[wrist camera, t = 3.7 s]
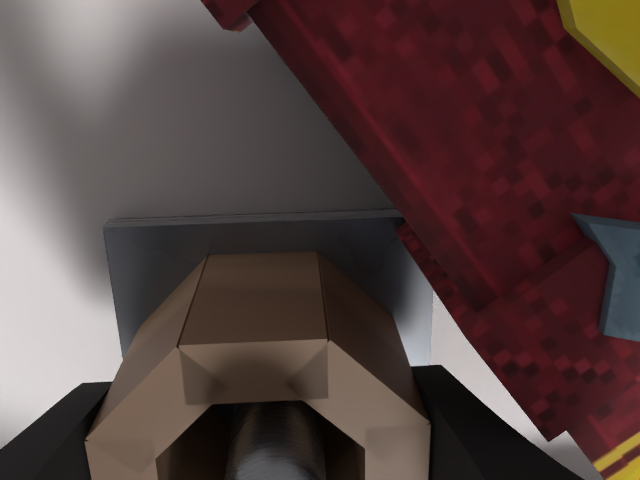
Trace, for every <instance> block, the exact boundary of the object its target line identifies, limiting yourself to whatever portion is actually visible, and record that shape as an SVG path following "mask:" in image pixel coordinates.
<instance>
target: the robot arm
mask: <svg viewBox="0 0 640 480" xmlns="http://www.w3.org/2000/svg"><path fill="white" fill-rule="evenodd" d="M411 369H412V373H413V376H414V379H415V381H416V384H417V387H418V390H419V393H420V396H421V398H422V401H423V404H424V407H425V409H426V412H427V415H428V418H429V421H430V424H431V430H430V451H429V472H428V480H584V479H582V478H581V477H579V476H578V475H576V474H575V473H573V472H572V471H570V470H569V469H567V468H566V467H564V466H563V465H561V464H560V463H558V462H557V461H555V460H554V459H553V458H551V457H550V456H549V455H547V454H546V453H545V452H543V451H542V450H541V449H539V448H538V447H537V446H535V445H534V444H533V443H531V442H530V441H528V440H527V439H526V438H525V437H523V436H522V435H521V434H520V433H518V432H517V431H516V430H515V429H513V428H512V427H511V426H510V425H508V424H507V423H506V422H505V421H504V420H502V419H501V418H500V417H499V416H498V415H496V414H495V413H494V412H493V411H492V410H491V409H489V408H488V407H487V406H486V405H485V404H484V403H483V402H481V401H480V400H479V399H478V398H477V397H476V396H475V395H474V394H473V393H471V392H470V391H469V390H468V389H467V388H466V387H465V386H464V385H463V384H461V383H460V382H459V381H458V380H457V379H456V378H455V377H454V376H453V375H452V374H451V373H450V372H448V371H447V370H446V369H445V368H444V367H443V366H442V365H426V366H411ZM112 383H113V382H95V383H82V384H80V385H79V386H78V387H76V388H75V389H74V390H72V391H71V392H70V393H68V394H67V395H66V396H65V397H64V398H62V399H61V400H60V401H59V402H57V403H56V404H55V405H54V406H53V407H51V408H50V409H49V410H48V411H47V412H45V413H44V414H43V415H42V416H41V417H40V418H38V419H37V420H36V421H35V422H33V423H32V424H31V425H30V426H29V427H27V428H26V429H25V430H24V431H22V432H21V433H20V434H19V435H18V436H16V437H15V438H14V439H13V440H11V441H10V442H9V443H8V444H7V445H5V446H4V447H3V448H2V449H0V480H92V479H91V473H90V468H89V463H88V457H87V452H86V447H85V439H86V436H87V434H88V432H89V430H90V428H91V426H92V424H93V422H94V420H95V418H96V416H97V414H98V412H99V410H100V407H101V405H102V403H103V401H104V399H105V397H106V395H107V393H108V391H109V389H110V387H111V385H112Z"/></svg>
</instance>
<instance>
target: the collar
mask: <svg viewBox="0 0 640 480" xmlns="http://www.w3.org/2000/svg"><path fill="white" fill-rule="evenodd" d="M289 400H303V401H304V402H306V403H307V404H308V405H310V406H311V407H312V408H313V409H315V410H316V411H317V412H319V413H320V414H321V421H322V433H323V446H324V458H325V470H326V480H428V472H429V451H430V430H431V424H430V421H429V418H428V415H427V412H426V409H425V407H424V404H423V401H422V398H421V396H420V393H419V390H418V387H417V384H416V381H415V379H414V376H413V373H412V369H411V366H410V364H409V361H408V358H407V355H406V352H405V349H404V346H403V343H402V341H401V338H400V335H399V332H398V329H397V326H396V323H395V321H394V318H393V316H392V315H391V314H390V313H388V312H387V311H386V310H385V309H384V308H383V307H382V306H381V305H379V304H378V303H377V302H376V301H375V300H374V299H373V298H371V297H370V296H369V295H368V294H367V293H366V292H365V291H363V290H362V289H361V288H360V287H359V286H358V285H357V284H355V283H354V282H353V281H352V280H351V279H350V278H349V277H347V276H346V275H345V274H344V273H343V272H342V271H341V270H339V269H338V268H337V267H336V266H335V265H334V264H333V263H331V262H330V261H329V260H328V259H327V258H326V257H325V256H323V255H322V254H321V253H320V252H318V253H317V251H300V252H274V253H247V254H221V255H209V257H208V256H206V257H205V258H204V259H203V260H202V262H201V263H200V264H199V265H198V266H197V267H196V268H195V269H194V270H193V271H192V272H191V273H190V274H189V275H188V276H187V277H186V278H185V279H184V280H183V282H182V283H181V284H180V285H179V286H178V287H177V288H176V289H175V290H174V291H173V292H172V293H171V294H170V295H169V296H168V297H167V298H166V299H165V300H164V302H163V303H162V304H161V305H160V306H159V307H158V308H157V309H156V310H155V311H154V312H153V313H152V314H151V315H150V316H149V317H148V318H147V319H146V320H145V321H144V323H143V324H142V325H141V326H140V327H139V329H138V331H137V333H136V335H135V337H134V339H133V341H132V343H131V345H130V347H129V349H128V351H127V354H126V356H125V358H124V360H123V362H122V364H121V366H120V368H119V370H118V372H117V374H116V376H115V378H114V380H113V383H112V385H111V387H110V389H109V391H108V393H107V395H106V397H105V399H104V401H103V403H102V405H101V407H100V410H99V412H98V414H97V416H96V418H95V420H94V422H93V424H92V426H91V428H90V430H89V432H88V434H87V436H86V439H85V447H86V452H87V457H88V463H89V468H90V473H91V479H92V480H225V473H226V465H227V458H228V451H229V444H230V436H231V429H232V424H230V423H229V422H227V421H226V420H225V419H223V418H222V417H221V416H219V415H218V414H216V413H215V412H214V411H212V410H211V409H210V408H209V407H210V406H211V405H212V404H225V403H246V402H268V401H289Z"/></svg>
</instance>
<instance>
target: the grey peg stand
mask: <svg viewBox="0 0 640 480" xmlns="http://www.w3.org/2000/svg"><path fill="white" fill-rule="evenodd" d="M405 222H406V220H405V219H404V217H403V216H402V215H401V214H400V212H399V211H398V210H397V209H387V210H359V211H331V212H303V213H275V214H247V215H219V216H192V217H164V218H136V219H110V220H109V221H108V222H107V223H106V224H105V226H104V227H103V233H104V239H105V246H106V252H107V259H108V266H109V272H110V279H111V285H112V292H113V298H114V305H115V311H116V318H117V324H118V331H119V338H120V344H121V351H122V357H123V360H124V358H125V356H126V354H127V351H128V349H129V347H130V345H131V343H132V341H133V339H134V337H135V335H136V333H137V331H138V329H139V327H140V326H141V325H142V324H143V323H144V321H145V320H146V319H147V318H148V317H149V316H150V315H151V314H152V313H153V312H154V311H155V310H156V309H157V308H158V307H159V306H160V305H161V304H162V303H163V302H164V300H165V299H166V298H167V297H168V296H169V295H170V294H171V293H172V292H173V291H174V290H175V289H176V288H177V287H178V286H179V285H180V284H181V283H182V282H183V280H184V279H185V278H186V277H187V276H188V275H189V274H190V273H191V272H192V271H193V270H194V269H195V268H196V267H197V266H198V265H199V264H200V263H201V262H202V260H203V259H204V258H205V257H206V256H208V257H209V255H221V254H247V253H274V252H300V251H317V253H318V252H320V253H321V254H322V255H323V256H325V257H326V258H327V259H328V260H329V261H330V262H331V263H333V264H334V265H335V266H336V267H337V268H338V269H339V270H341V271H342V272H343V273H344V274H345V275H346V276H347V277H349V278H350V279H351V280H352V281H353V282H354V283H355V284H357V285H358V286H359V287H360V288H361V289H362V290H363V291H365V292H366V293H367V294H368V295H369V296H370V297H371V298H373V299H374V300H375V301H376V302H377V303H378V304H379V305H381V306H382V307H383V308H384V309H385V310H386V311H387V312H388V313H390V314H391V315H392V316H393V318H394V321H395V323H396V326H397V329H398V332H399V335H400V338H401V341H402V343H403V346H404V349H405V352H406V355H407V358H408V361H409V364H410V366H426V365H430V348H431V326H432V303H433V288H432V286H431V285H430V283H429V282H428V280H427V279H426V277H425V276H424V274H423V273H422V271H421V270H420V268H419V267H418V266H417V264H416V263H415V261H414V260H413V258H412V257H411V255H410V254H409V252H408V251H407V249H406V248H405V246H404V245H403V243H402V242H401V240H400V239H399V237H398V236H397V234H396V233H395V231H394V230H396V229H397V228H398V227H400V226H401V225H402V224H403V223H405ZM209 408H210V409H211V410H212V411H214V412H215V413H216V414H218V415H219V416H221V417H222V418H223V419H225V420H226V421H227V422H229V423H230V424H232V429H231V436H230V444H229V451H228V458H227V465H226V473H225V480H326V470H325V458H324V446H323V433H322V421H321V414H320V413H319V412H317V411H316V410H315V409H313V408H312V407H311V406H310V405H308V404H307V403H306V402H304V401H303V400H289V401H268V402H246V403H225V404H212V405H211V406H210V407H209Z"/></svg>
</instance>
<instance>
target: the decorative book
mask: <svg viewBox="0 0 640 480" xmlns="http://www.w3.org/2000/svg"><path fill="white" fill-rule="evenodd" d="M201 2H202V3H203V4H204V5H205V7H206V8H207V9H208V10H209V12H210V13H211V14H212V16H213V17H214V18H215V19H216V21H217V22H218V23H219V24H220V26H221V27H222V28H223V29H225V30H230V31H235V32H241V31H242V30H244V29H245V28H246V27H247V26H248V25H250V24H251V23H252V22H253V21H254V23H255V24H256V25H257V27H258V28H259V29H260V31H261V32H262V33H263V35H264V36H265V37H266V38H267V40H268V41H269V42H270V44H271V45H272V46H273V48H274V49H275V50H276V52H277V53H278V54H279V55H280V57H281V58H282V59H283V61H284V62H285V63H286V65H287V66H288V67H289V68H290V70H291V71H292V72H293V74H294V75H295V76H296V78H297V79H298V80H299V82H300V83H301V84H302V85H303V87H304V88H305V89H306V91H307V92H308V93H309V95H310V96H311V97H312V99H313V100H314V101H315V102H316V104H317V105H318V106H319V108H320V109H321V110H322V112H323V113H324V114H325V116H326V117H327V118H328V119H329V121H330V122H331V123H332V125H333V126H334V127H335V129H336V130H337V131H338V133H339V134H340V135H341V136H342V138H343V139H344V140H345V142H346V143H347V144H348V146H349V147H350V148H351V149H352V151H353V152H354V153H355V155H356V156H357V157H358V159H359V160H360V161H361V163H362V164H363V165H364V166H365V168H366V169H367V170H368V172H369V173H370V174H371V176H372V177H373V178H374V180H375V181H376V182H377V183H378V185H379V186H380V187H381V189H382V190H383V191H384V193H385V194H386V195H387V197H388V198H389V199H390V200H391V202H392V203H393V204H394V206H395V207H396V208H397V210H398V211H399V212H400V214H401V215H402V216H403V217H404V219H405V220H406V222H405V223H403V224H402V225H401V226H400V227H398V228H397V229H396V230H394V231H395V233H396V234H397V236H398V237H399V239H400V240H401V242H402V243H403V245H404V246H405V248H406V249H407V251H408V252H409V254H410V255H411V257H412V258H413V260H414V261H415V263H416V264H417V266H418V267H419V268H420V270H421V271H422V273H423V274H424V276H425V277H426V279H427V280H428V282H429V283H430V285H431V286H432V288H433V289H434V291H435V292H436V294H437V295H438V297H439V298H440V300H441V301H442V303H443V304H444V306H445V307H446V309H447V310H448V312H449V313H450V315H451V316H452V318H453V319H454V321H455V322H456V324H457V325H458V327H459V328H460V330H461V331H462V333H463V334H464V336H465V337H466V339H467V340H468V341H469V342H470V344H471V345H472V346H473V347H474V349H475V350H476V351H477V353H478V354H479V355H480V356H481V358H482V359H483V360H484V361H485V363H486V364H487V365H488V367H489V368H490V369H491V370H492V372H493V373H494V374H495V375H496V377H497V378H498V379H499V380H500V382H501V383H502V384H503V386H504V387H505V388H506V389H507V391H508V392H509V393H510V394H511V396H512V397H513V398H514V400H515V401H516V402H517V403H518V405H519V406H520V407H521V408H522V410H523V411H524V412H525V414H526V415H527V416H528V417H529V419H530V420H531V421H532V422H533V424H534V425H535V426H536V428H537V429H538V430H539V431H540V433H541V434H542V435H543V436H544V438H545V439H546V440H547V442H550V441H551V440H553V439H554V438H556V437H557V436H558V435H560V434H561V433H563V432H564V431H566V430H567V432H568V433H569V434H570V436H571V437H572V438H573V439H574V441H575V442H576V443H577V445H578V446H579V447H580V449H581V450H582V451H583V453H584V454H585V455H586V456H587V458H588V459H589V460H590V462H591V463H592V464H593V466H594V467H595V468H596V469H597V471H598V472H599V473H600V475H601V476H602V477H603V479H604V480H640V0H201Z"/></svg>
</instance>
